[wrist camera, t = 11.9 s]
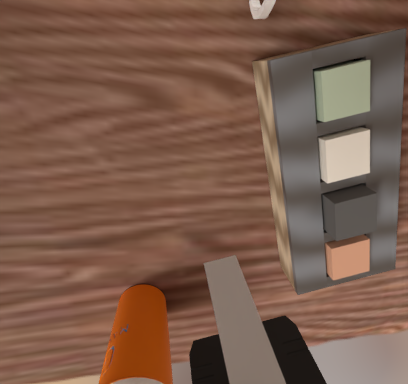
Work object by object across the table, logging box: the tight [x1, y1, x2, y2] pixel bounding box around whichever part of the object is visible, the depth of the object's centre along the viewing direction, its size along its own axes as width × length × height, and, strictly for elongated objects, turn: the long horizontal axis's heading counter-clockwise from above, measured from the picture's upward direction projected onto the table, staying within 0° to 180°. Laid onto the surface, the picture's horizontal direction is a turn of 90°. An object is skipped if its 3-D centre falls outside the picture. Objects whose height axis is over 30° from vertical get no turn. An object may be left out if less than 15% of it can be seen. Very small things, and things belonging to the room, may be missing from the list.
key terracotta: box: [324, 234, 370, 280], centre depth 41 cm, size 5×5×4 cm
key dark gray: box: [321, 184, 377, 241], centre depth 37 cm, size 5×5×4 cm
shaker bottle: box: [99, 284, 173, 384], centre depth 38 cm, size 9×9×20 cm
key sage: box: [313, 60, 370, 122], centre depth 33 cm, size 5×5×4 cm
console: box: [252, 28, 406, 295], centre depth 39 cm, size 30×14×6 cm, turn 12°
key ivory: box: [317, 126, 370, 183], centre depth 35 cm, size 5×5×4 cm
